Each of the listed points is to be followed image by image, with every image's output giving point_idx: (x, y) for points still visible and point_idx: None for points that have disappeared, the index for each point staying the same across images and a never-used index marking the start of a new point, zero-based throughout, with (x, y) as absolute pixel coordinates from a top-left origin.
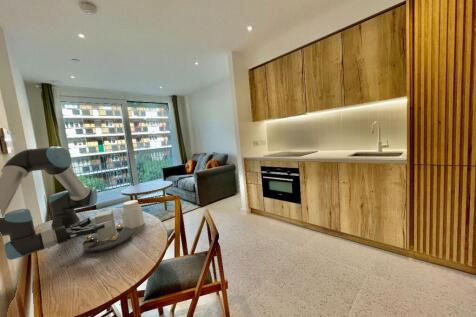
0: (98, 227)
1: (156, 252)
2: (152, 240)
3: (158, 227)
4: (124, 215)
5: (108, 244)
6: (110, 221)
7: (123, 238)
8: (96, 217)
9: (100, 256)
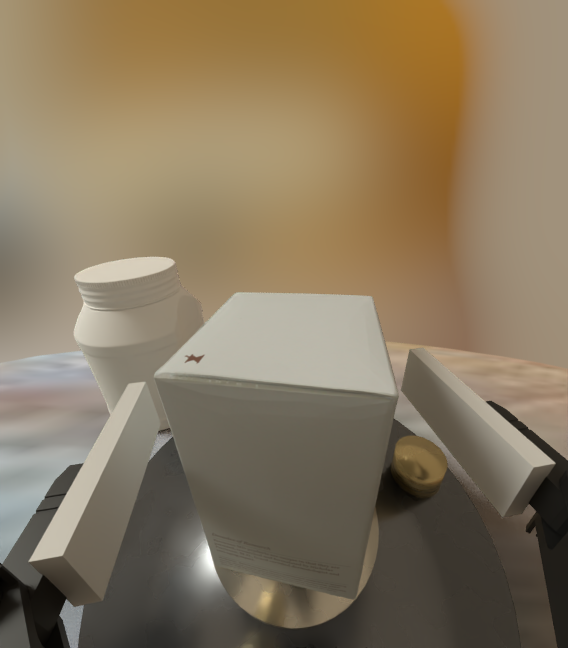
0: (552, 459)
1: (540, 372)
2: None
3: None
4: (159, 351)
5: (480, 517)
6: (426, 356)
7: (403, 427)
8: (395, 387)
9: (551, 639)
